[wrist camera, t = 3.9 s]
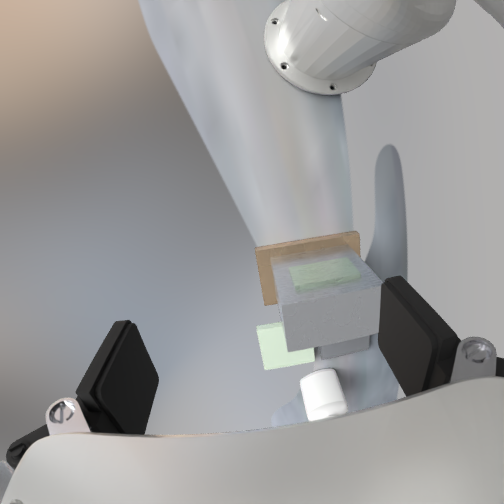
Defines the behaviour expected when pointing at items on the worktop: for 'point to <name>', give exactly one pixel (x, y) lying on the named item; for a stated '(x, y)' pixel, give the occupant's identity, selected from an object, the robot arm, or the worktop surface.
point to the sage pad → (279, 348)
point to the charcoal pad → (344, 347)
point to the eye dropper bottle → (323, 395)
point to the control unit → (320, 289)
